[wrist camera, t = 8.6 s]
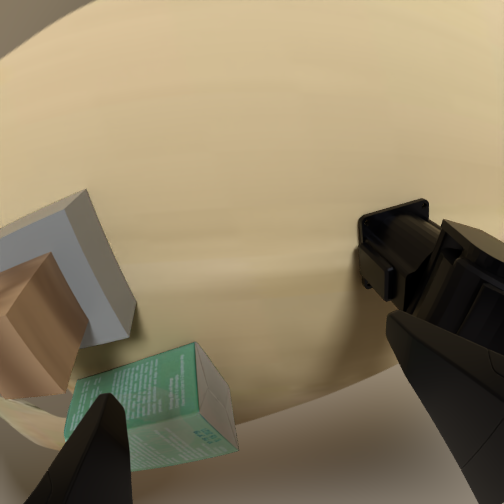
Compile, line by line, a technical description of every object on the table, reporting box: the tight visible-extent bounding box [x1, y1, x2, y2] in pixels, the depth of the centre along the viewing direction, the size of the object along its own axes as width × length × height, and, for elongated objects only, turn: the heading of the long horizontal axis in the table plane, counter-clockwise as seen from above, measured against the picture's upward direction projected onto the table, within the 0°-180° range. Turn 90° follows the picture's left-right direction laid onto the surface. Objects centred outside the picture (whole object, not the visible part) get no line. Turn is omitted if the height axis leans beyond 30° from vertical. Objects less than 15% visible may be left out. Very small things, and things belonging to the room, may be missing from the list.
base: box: [0, 189, 136, 349], centre depth 18 cm, size 9×9×4 cm
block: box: [0, 252, 89, 399], centre depth 14 cm, size 5×5×6 cm
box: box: [64, 342, 239, 472], centre depth 23 cm, size 7×14×8 cm, turn 111°
